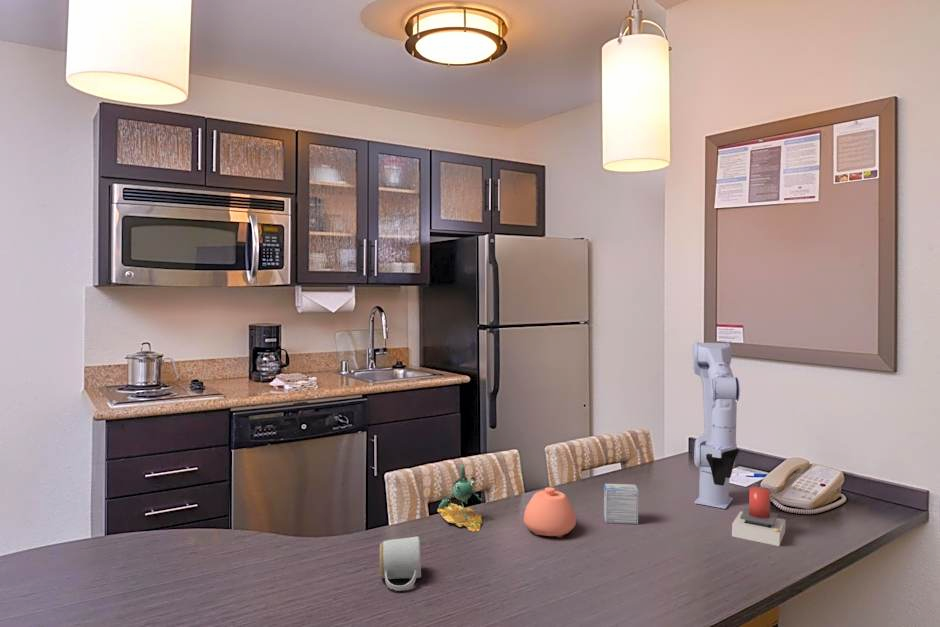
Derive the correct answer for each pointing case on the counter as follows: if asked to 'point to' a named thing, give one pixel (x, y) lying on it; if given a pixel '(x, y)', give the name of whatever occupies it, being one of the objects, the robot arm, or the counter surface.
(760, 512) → the cap
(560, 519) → the sugar bowl
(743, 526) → the box
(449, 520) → the frog figurine
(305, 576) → the counter surface
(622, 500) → the medicine box
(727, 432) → the robot arm
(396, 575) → the ceramic mug
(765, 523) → the switch
